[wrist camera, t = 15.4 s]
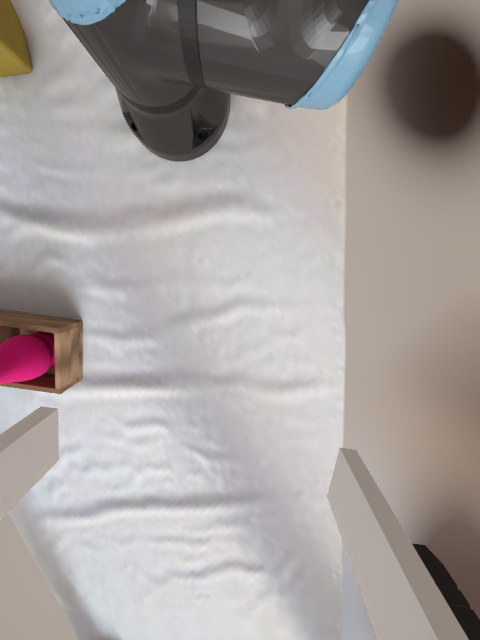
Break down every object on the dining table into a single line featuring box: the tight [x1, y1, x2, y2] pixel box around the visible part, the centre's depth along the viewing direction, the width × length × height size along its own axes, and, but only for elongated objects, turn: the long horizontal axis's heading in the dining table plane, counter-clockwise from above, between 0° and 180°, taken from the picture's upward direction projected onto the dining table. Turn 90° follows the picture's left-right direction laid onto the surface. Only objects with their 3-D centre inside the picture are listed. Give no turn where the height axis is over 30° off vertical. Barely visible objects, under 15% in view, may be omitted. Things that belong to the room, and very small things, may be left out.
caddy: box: [0, 309, 82, 394], centre depth 42 cm, size 11×21×6 cm, turn 82°
